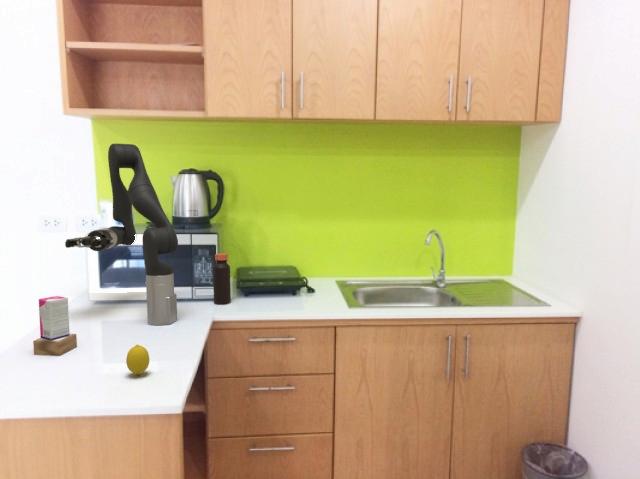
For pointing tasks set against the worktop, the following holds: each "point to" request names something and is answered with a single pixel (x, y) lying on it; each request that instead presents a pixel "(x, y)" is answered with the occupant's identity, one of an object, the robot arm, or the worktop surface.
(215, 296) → the bottle
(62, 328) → the supplement box
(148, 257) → the robot arm
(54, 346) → the wooden block
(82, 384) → the worktop surface
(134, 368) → the lemon
